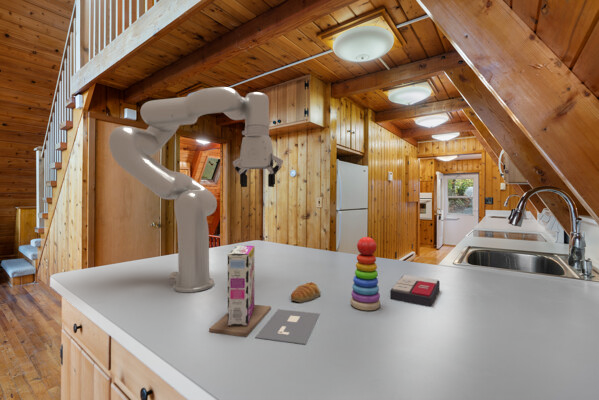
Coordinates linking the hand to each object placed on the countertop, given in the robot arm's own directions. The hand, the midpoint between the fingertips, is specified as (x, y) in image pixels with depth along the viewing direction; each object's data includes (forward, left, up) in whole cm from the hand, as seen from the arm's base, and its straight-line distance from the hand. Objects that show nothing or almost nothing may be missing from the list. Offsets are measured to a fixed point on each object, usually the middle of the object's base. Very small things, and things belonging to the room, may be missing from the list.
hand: (257, 186), depth 94 cm
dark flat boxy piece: (+48, +5, -33) cm, 59 cm away
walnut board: (+6, -23, -33) cm, 40 cm away
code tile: (+18, -23, -33) cm, 44 cm away
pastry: (+17, -5, -33) cm, 38 cm away
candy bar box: (+6, -23, -32) cm, 40 cm away
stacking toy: (+34, -7, -33) cm, 48 cm away
